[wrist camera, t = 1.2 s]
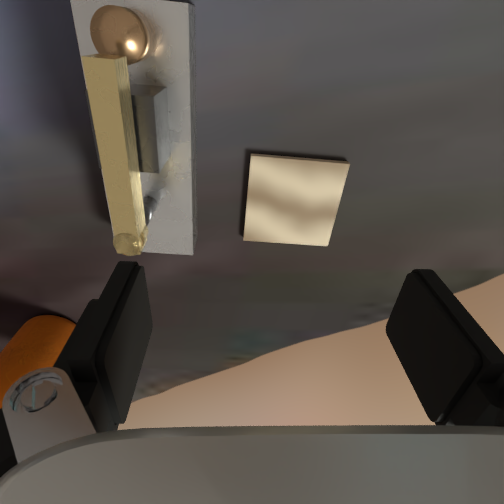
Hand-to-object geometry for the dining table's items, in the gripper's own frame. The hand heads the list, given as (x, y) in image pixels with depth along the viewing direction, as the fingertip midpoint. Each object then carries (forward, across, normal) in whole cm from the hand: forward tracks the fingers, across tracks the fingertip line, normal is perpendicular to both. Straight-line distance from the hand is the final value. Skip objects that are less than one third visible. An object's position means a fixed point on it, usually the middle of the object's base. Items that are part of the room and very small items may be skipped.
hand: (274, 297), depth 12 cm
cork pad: (+27, -6, +9) cm, 29 cm away
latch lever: (+18, +10, +1) cm, 21 cm away
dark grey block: (+23, +10, -1) cm, 25 cm away
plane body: (+27, +10, +2) cm, 29 cm away
